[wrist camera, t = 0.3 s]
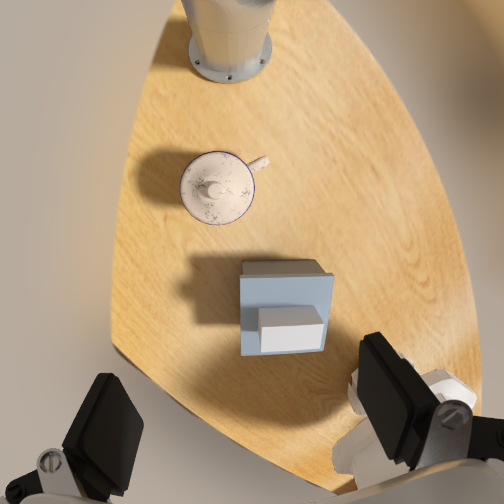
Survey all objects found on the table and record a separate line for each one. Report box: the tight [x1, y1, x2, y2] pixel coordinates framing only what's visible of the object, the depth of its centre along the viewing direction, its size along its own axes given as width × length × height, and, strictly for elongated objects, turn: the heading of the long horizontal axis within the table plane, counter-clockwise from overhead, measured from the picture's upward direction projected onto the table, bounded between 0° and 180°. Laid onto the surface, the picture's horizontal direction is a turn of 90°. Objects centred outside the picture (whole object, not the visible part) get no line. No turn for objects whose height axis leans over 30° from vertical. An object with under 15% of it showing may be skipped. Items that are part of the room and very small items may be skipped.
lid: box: [240, 273, 334, 356], centre depth 39 cm, size 13×13×6 cm
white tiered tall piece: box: [331, 350, 477, 490], centre depth 40 cm, size 27×27×35 cm
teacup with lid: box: [180, 151, 269, 225], centre depth 36 cm, size 12×9×12 cm
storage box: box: [242, 260, 325, 275], centre depth 45 cm, size 12×12×7 cm
